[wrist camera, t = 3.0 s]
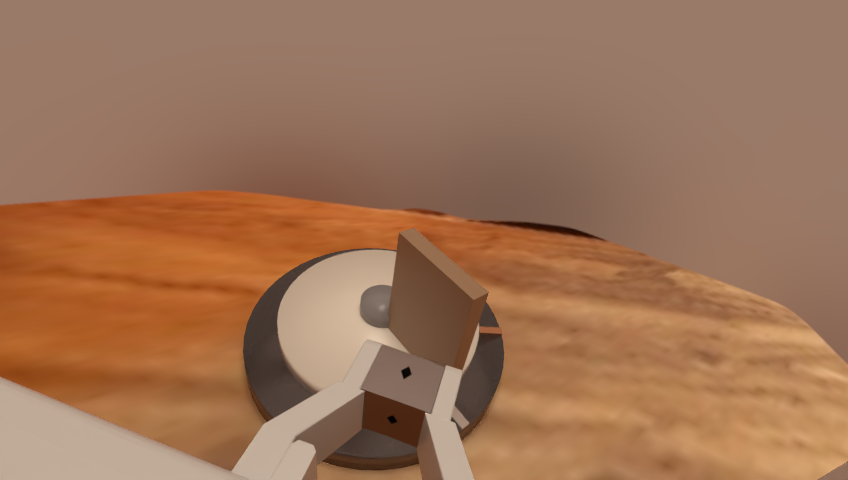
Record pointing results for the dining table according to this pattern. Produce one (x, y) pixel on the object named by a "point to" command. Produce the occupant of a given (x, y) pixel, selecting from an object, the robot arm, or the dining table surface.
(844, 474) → the pizza boxes
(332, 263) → the dial
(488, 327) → the dial housing
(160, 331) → the dining table surface
